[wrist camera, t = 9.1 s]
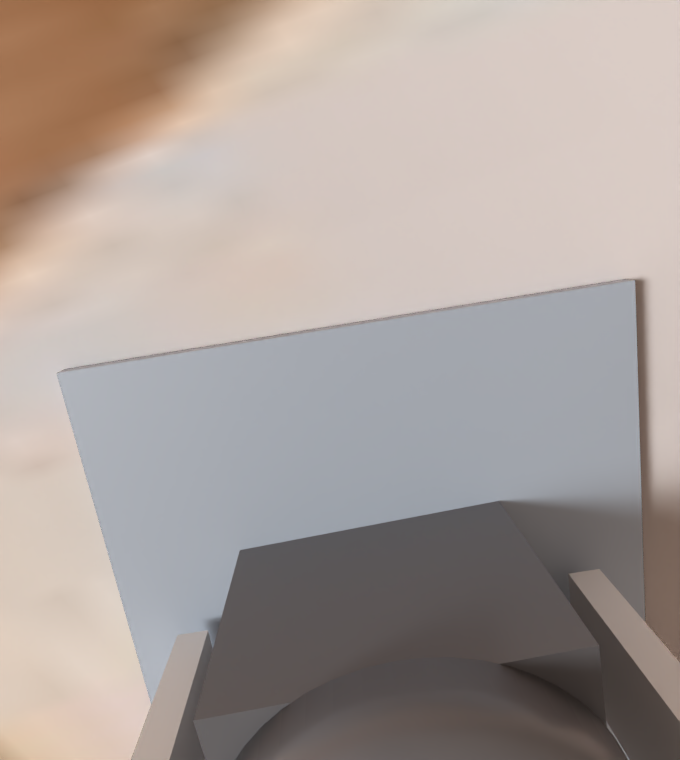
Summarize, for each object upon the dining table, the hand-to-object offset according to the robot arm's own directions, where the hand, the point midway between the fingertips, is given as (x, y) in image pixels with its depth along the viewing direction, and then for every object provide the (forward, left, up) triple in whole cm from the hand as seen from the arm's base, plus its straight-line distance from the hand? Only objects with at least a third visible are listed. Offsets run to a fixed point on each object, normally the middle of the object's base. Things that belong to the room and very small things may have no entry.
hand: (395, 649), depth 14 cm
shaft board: (0, 0, -1) cm, 1 cm away
